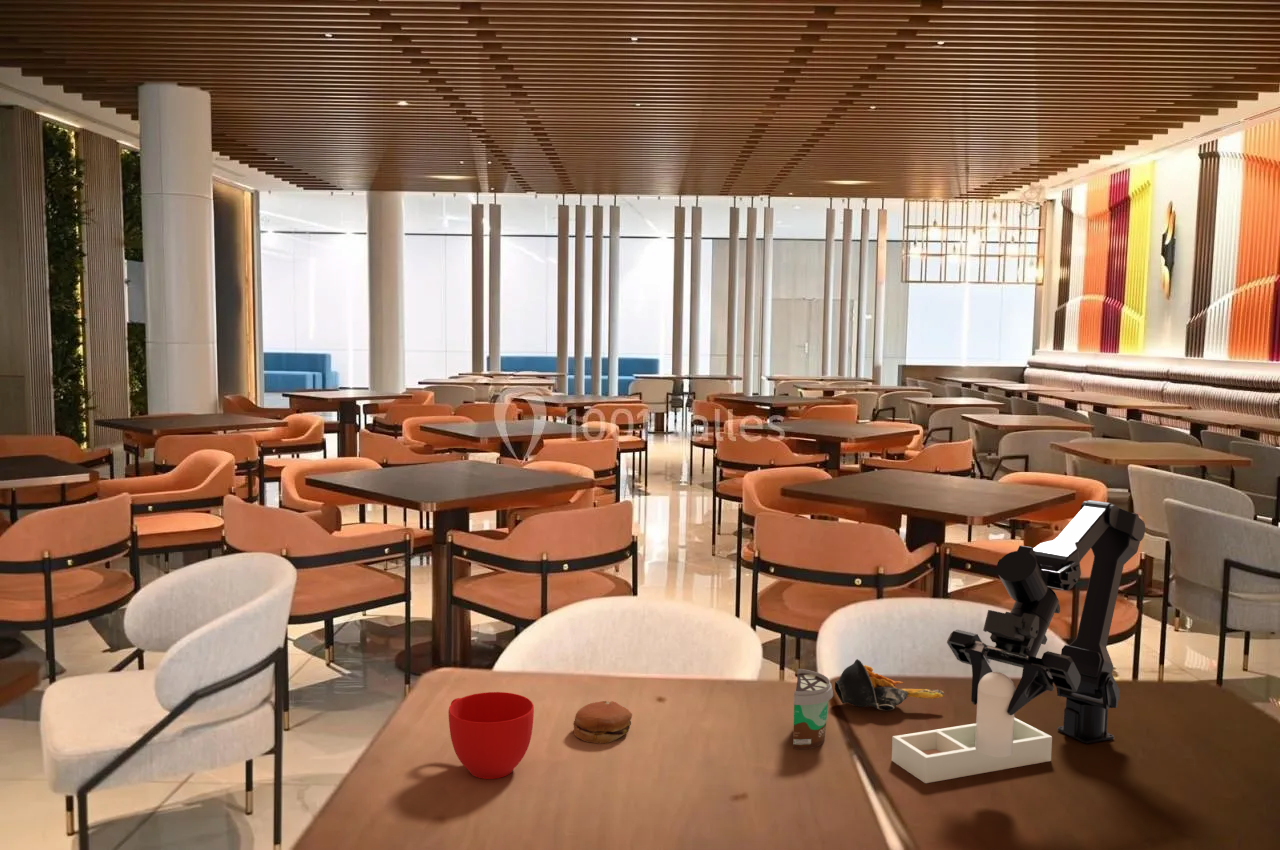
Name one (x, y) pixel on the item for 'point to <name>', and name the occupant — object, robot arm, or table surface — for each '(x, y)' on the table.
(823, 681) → the food container
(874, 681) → the fried shrimp in bowl
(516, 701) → the ceramic cup
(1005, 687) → the cream capsule cylinder
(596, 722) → the burger
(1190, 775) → the table surface
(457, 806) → the table surface
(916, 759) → the compartment tray
